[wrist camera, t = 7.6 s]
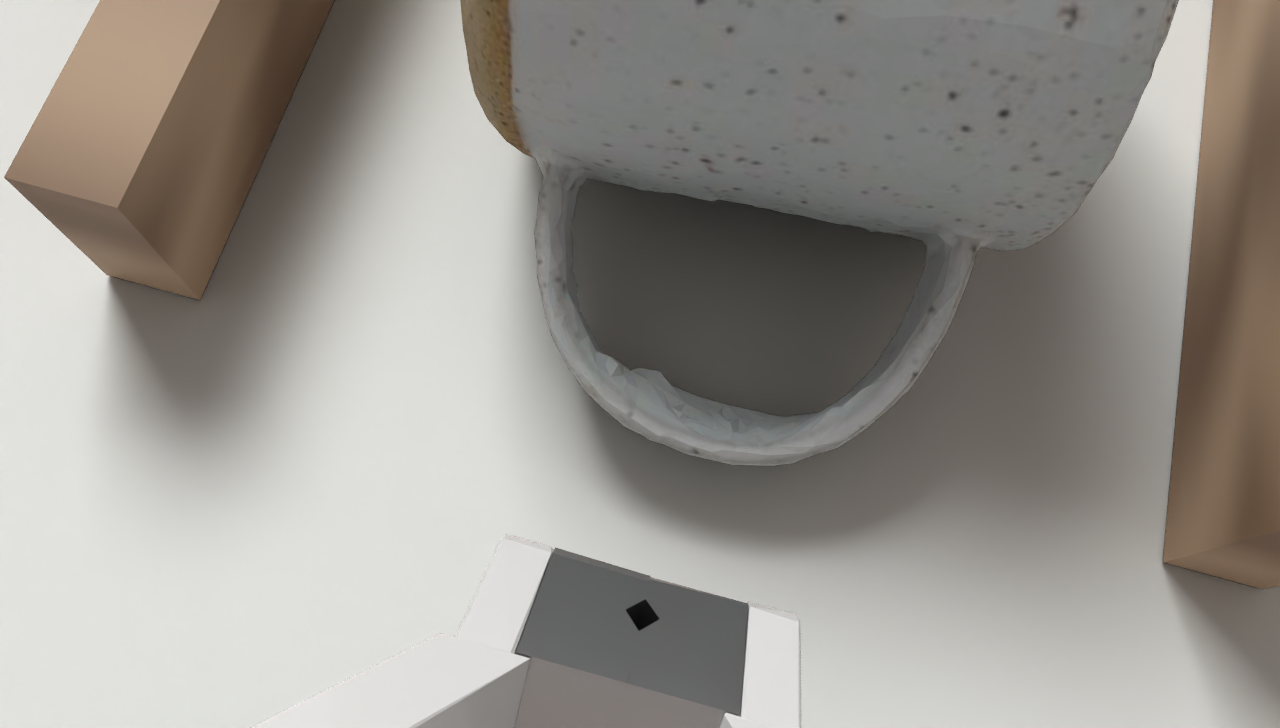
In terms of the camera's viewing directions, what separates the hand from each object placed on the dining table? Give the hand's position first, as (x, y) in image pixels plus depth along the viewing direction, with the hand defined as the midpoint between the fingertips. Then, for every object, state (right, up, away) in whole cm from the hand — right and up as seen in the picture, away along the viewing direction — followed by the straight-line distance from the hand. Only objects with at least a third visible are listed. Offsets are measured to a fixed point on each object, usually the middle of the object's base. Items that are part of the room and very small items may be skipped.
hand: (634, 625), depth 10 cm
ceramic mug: (+2, +6, +7) cm, 10 cm away
